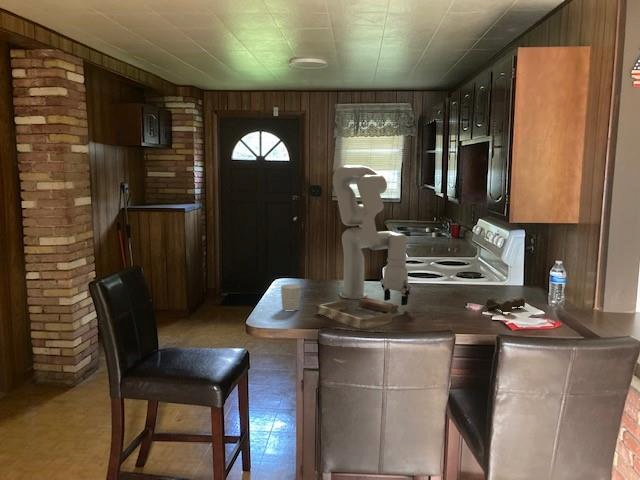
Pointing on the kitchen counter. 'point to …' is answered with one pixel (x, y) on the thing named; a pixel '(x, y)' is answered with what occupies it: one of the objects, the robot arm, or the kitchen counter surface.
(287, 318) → the kitchen counter surface
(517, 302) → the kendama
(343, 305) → the wooden frame
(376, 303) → the packaged product
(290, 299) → the white cup
